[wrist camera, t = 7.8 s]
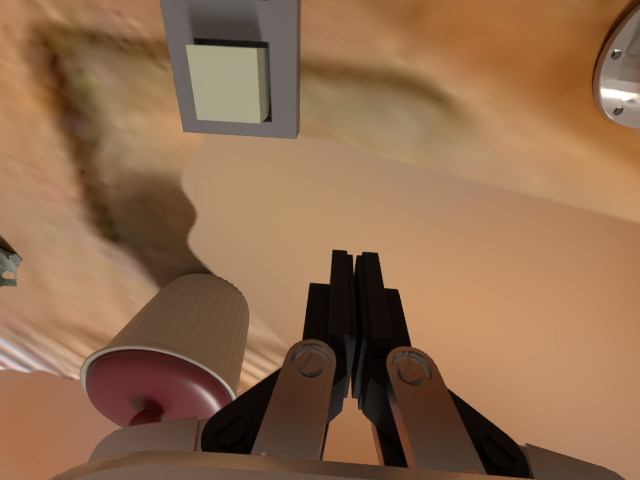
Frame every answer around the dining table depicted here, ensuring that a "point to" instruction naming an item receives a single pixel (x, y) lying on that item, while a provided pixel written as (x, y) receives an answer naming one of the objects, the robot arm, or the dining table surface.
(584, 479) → the robot arm
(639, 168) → the dining table surface
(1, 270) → the rose bouquet
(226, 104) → the button sage
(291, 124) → the console
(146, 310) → the canister
